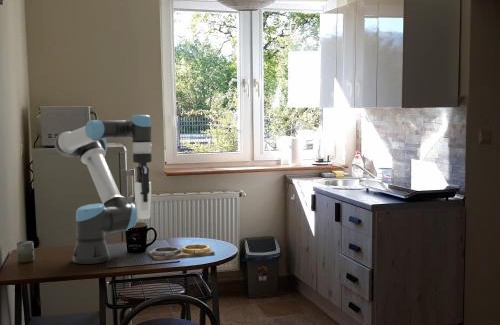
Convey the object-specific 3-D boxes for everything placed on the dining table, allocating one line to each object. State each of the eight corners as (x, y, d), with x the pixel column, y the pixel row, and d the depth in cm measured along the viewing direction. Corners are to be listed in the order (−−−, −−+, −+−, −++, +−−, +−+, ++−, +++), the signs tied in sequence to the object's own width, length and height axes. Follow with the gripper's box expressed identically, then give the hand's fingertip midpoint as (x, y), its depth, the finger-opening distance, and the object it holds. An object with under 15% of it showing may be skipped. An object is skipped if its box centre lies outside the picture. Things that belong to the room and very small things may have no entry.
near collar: (156, 256, 243) (156, 253, 243) (150, 251, 254) (150, 248, 254) (182, 254, 248) (182, 251, 248) (176, 249, 258) (176, 245, 258)
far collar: (186, 254, 248) (186, 250, 248) (179, 248, 259) (179, 245, 259) (212, 251, 252) (212, 248, 252) (204, 246, 263) (204, 243, 263)
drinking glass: (153, 217, 242) (153, 181, 241) (149, 219, 236) (148, 182, 235) (137, 217, 243) (137, 181, 242) (132, 219, 236) (132, 182, 235)
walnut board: (155, 260, 243) (155, 257, 243) (148, 254, 255) (148, 251, 255) (214, 254, 252) (214, 252, 252) (205, 248, 264) (205, 246, 264)
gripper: (156, 153, 230) (157, 211, 231) (146, 151, 248) (147, 205, 250) (137, 154, 227) (138, 212, 229) (128, 152, 245) (130, 206, 247)
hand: (143, 208), depth 239 cm, fingers closed on drinking glass, 7 cm apart
